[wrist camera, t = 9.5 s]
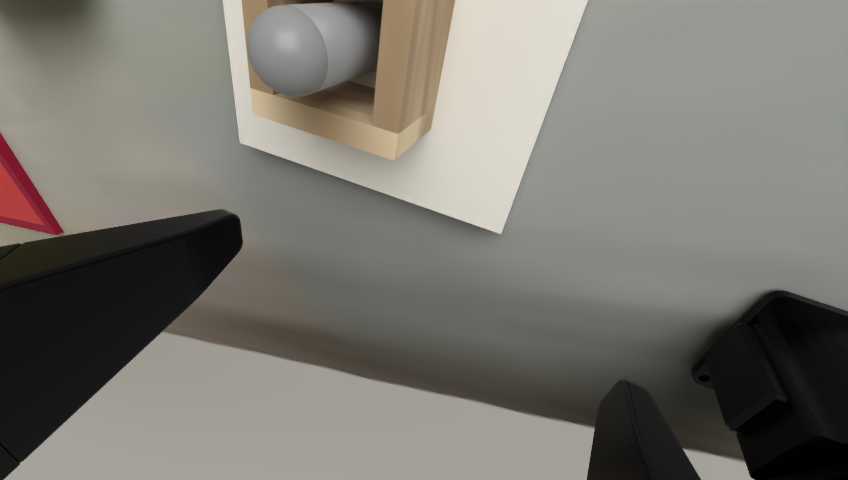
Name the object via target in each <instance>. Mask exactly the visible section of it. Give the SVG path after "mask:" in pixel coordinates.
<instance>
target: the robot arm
mask: <svg viewBox="0 0 848 480" xmlns="http://www.w3.org/2000/svg"><path fill="white" fill-rule="evenodd" d="M242 244H243V240H242V231H241V223H240V219H239V217H238V216H237V215H236V214H234V213H231V212H229V211H226V210H223V209H219V210H213V211H207V212H201V213H195V214H189V215H184V216H178V217H172V218H166V219H160V220H154V221H148V222H142V223H137V224H131V225H125V226H119V227H113V228H107V229H101V230H95V231H90V232H84V233H78V234H72V235H66V236H60V237H54V238H49V239H43V240H37V241H31V242H25V243H23V244H13V245H7V246H1V247H0V480H4V479H5V478H6V477H7V476H8V475H9V474H10V473H11V472H12V471H13V470H14V469H15V468H17V467H18V466H19V465H20V462H22V461H24V460H25V459H26V458H27V457H28V456H29V455H30V454H31V453H32V452H33V451H34V450H35V449H37V448H38V447H39V446H40V445H41V444H42V443H43V442H44V441H45V440H46V439H47V438H48V437H49V436H50V435H52V434H53V433H54V432H55V431H56V430H57V429H58V428H59V427H60V426H61V425H62V424H63V423H64V422H66V421H67V420H68V419H69V418H70V417H71V416H72V415H73V414H74V413H75V412H76V411H77V410H78V409H79V408H81V407H82V406H83V405H84V404H85V403H86V402H87V401H88V400H89V399H90V398H91V397H92V396H93V395H95V394H96V393H97V392H98V391H99V390H100V389H101V388H102V387H103V386H104V385H105V384H106V383H107V382H108V381H109V380H111V379H112V378H113V377H114V376H115V375H116V374H117V373H118V372H119V371H120V370H121V369H122V368H123V367H125V366H126V365H127V364H128V363H129V362H130V361H131V360H132V359H133V358H134V357H135V356H136V355H137V354H139V352H141V351H142V350H143V349H144V348H145V347H146V346H147V345H148V344H149V343H150V342H151V341H153V340H154V339H155V338H156V337H157V336H158V335H159V334H160V333H161V332H162V331H163V330H164V329H165V328H167V327H168V326H169V325H170V324H171V323H172V322H173V321H174V320H175V319H176V318H177V317H178V316H179V315H180V314H182V313H183V312H184V311H185V310H186V309H187V308H188V307H189V306H190V305H191V304H192V303H193V302H194V301H195V300H196V299H197V298H198V297H199V296H200V295H201V294H202V293H203V292H204V291H205V290H206V289H207V288H208V286H209V285H210V284H211V283H212V282H213V281H214V280H215V278H216V277H217V276H218V275H219V274H220V273H221V272H222V271H223V269H224V268H225V267H226V266H227V265H228V264H229V263H230V262H231V260H232V259H233V258H234V257H235V256H236V255H237V254H238V252H239V251H240V249H241V247H242ZM779 301H785V302H784V303H782V304H776V303H777V302H779ZM691 374H692V377H693V380H694V381H695V382H696V383H698V384H701V385H703V386H706V387H709V388H711V389H714V390H715V392H716V396H717V399H718V402H719V405H720V408H721V411H722V414H723V418H724V421H725V424H726V426H727V428H728V430H730V431H732V432H734V433H736V435H737V438H738V441H739V444H740V447H741V450H742V453H743V456H744V459H745V462H746V465H747V468H748V471H749V474H750V476H751V477H752V478H753V479H755V480H848V311H845V310H842V309H838V308H835V307H832V306H829V305H826V304H823V303H820V302H817V301H814V300H811V299H808V298H805V297H802V296H799V295H796V294H793V293H790V292H787V291H774V292H771V293H769V294H768V295H766V296H765V297H764V298H763V299H762V300H761V301H760V302H759V303H758V304H757V305H756V306H755V307H754V308H753V309H752V310H751V311H750V312H749V313H748V314H747V315H746V316H745V317H744V318H743V319H742V320H741V321H740V322H739V323H738V324H736V325H734V326H733V327H732V328H731V329H730V330H729V331H728V332H727V333H726V334H725V335H724V336H723V337H722V338H721V339H720V340H719V341H718V342H717V343H716V344H715V345H714V346H713V347H712V348H711V349H710V350H709V351H708V352H707V353H706V354H705V355H704V357H703V358H702V359H701V360H700V361H699V362H698V363H697V364H696V365H695V366H694V367H693V368H692V370H691ZM587 480H701V479H700V477H699V476H698V474H697V473H696V471H695V469H694V468H693V466H692V464H691V462H690V461H689V459H688V457H687V456H686V454H685V452H684V451H683V449H682V447H681V446H680V444H679V442H678V441H677V439H676V437H675V436H674V434H673V432H672V431H671V429H670V427H669V426H668V424H667V422H666V421H665V419H664V417H663V416H662V414H661V412H660V411H659V409H658V407H657V406H656V404H655V402H654V401H653V399H652V397H651V396H650V394H649V392H648V391H647V390H646V388H645V387H643V386H642V385H639V384H637V383H635V382H632V381H630V380H628V379H620V380H619V381H618V382H617V383H616V384H615V385H614V386H613V387H612V389H611V390H610V391H609V392H608V393H607V395H606V396H605V397H604V398H603V399H602V401H601V403H600V405H599V408H598V412H597V419H596V425H595V432H594V438H593V445H592V450H591V457H590V463H589V469H588V476H587Z"/></svg>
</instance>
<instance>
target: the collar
mask: <svg viewBox="0 0 848 480" xmlns="http://www.w3.org/2000/svg"><path fill="white" fill-rule="evenodd" d="M311 3H333V0H242V10H243V20H244V30H245V40H246V50H247V36H248V32H249V29H250V26H251V24H252V22H253V21H254V19H255V18H256V17H257V16H258V15H259V14H260V13H261V12H262V11H264V10H265V9H268V8H270V7H272V6H277V5H288V4H311ZM454 4H455V0H383V10H382V21H381V32H380V43H379V54H378V64H377V75H376V86H375V88H372V87H368V86H365V85H361V84H358V83H354V82H351V81H345V82H342V83H339V84H337V85H334V86H331V87H329V88H326V89H323V90H321V91H318V92H315V93H313V94H310V95H306V96H301V97H293V96H287V95H283V94H281V93H278V92H276V91H274V90H273V89H271V88H270V87H268V86H267V85H266V84H265V83H264V82H263V81H262V80H261V79H260V78H259V77H258V76H257V74H256V73H255V71H254V69H253V67H252V65H251V63H250V60H249V57H248V52H247V60H248V71H249V81H250V91H251V101H252V111H253V115H256V116H259V117H262V118H265V119H268V120H271V121H274V122H277V123H280V124H284V125H287V126H290V127H293V128H296V129H299V130H302V131H305V132H308V133H311V134H314V135H317V136H320V137H323V138H326V139H330V140H333V141H336V142H339V143H342V144H345V145H348V146H351V147H354V148H357V149H360V150H363V151H366V152H369V153H372V154H376V155H379V156H382V157H385V158H388V159H391V160H394V161H395V160H396V159H397V158H398V157H399V156H401V155H402V154H403V153H404V152H405V151H406V150H407V149H409V148H410V147H411V146H412V145H413V144H414V143H415V142H417V141H418V140H419V139H420V138H421V137H422V136H423V135H424V134H426V133H427V132H428V131H429V130H430V129H431V126H432V121H433V116H434V110H435V105H436V100H437V95H438V89H439V84H440V79H441V73H442V68H443V63H444V57H445V52H446V47H447V41H448V36H449V31H450V25H451V20H452V15H453V9H454Z"/></svg>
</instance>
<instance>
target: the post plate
mask: <svg viewBox="0 0 848 480" xmlns="http://www.w3.org/2000/svg"><path fill="white" fill-rule="evenodd" d="M587 2H588V0H455V4H454V9H453V15H452V20H451V25H450V31H449V36H448V41H447V47H446V52H445V57H444V63H443V68H442V73H441V79H440V84H439V89H438V95H437V100H436V105H435V110H434V116H433V121H432V126H431V129H430V130H429V131H428V132H427V133H426V134H424V135H423V136H422V137H421V138H420V139H419V140H418V141H417V142H415V143H414V144H413V145H412V146H411V147H410V148H409V149H407V150H406V151H405V152H404V153H403V154H402V155H401V156H399V157H398V158H397V159H396V160H395V161H394V160H391V159H388V158H385V157H382V156H379V155H376V154H372V153H369V152H366V151H363V150H360V149H357V148H354V147H351V146H348V145H345V144H342V143H339V142H336V141H333V140H330V139H326V138H323V137H320V136H317V135H314V134H311V133H308V132H305V131H302V130H299V129H296V128H293V127H290V126H287V125H284V124H280V123H277V122H274V121H271V120H268V119H265V118H262V117H259V116H256V115H253V111H252V101H251V91H250V81H249V71H248V60H247V52H248V57H249V60H250V63H251V65H252V67H253V69H254V71H255V73H256V74H257V76H258V77H259V78H260V79H261V80H262V81H263V82H264V83H265V84H266V85H267V86H268V87H270V88H271V89H273V90H274V91H276V92H278V93H281V94H283V95H287V96H293V97H301V96H306V95H310V94H313V93H315V92H318V91H321V90H323V89H326V88H329V87H331V86H334V85H337V84H339V83H342V82H345V81H351V82H354V83H358V84H361V85H365V86H368V87H372V88H375V86H376V75H377V64H378V54H379V43H380V32H381V21H382V10H383V0H333V3H311V4H288V5H277V6H272V7H270V8H268V9H265V10H264V11H262V12H261V13H260V14H259V15H258V16H257V17H256V18H255V19H254V21H253V22H252V24H251V26H250V29H249V32H248V36H247V50H246V40H245V30H244V20H243V10H242V0H223V6H224V15H225V23H226V31H227V40H228V48H229V56H230V64H231V73H232V81H233V89H234V98H235V106H236V114H237V122H238V131H239V139H240V143H242V144H245V145H247V146H250V147H253V148H256V149H259V150H262V151H265V152H267V153H270V154H273V155H276V156H279V157H282V158H285V159H287V160H290V161H293V162H296V163H299V164H302V165H305V166H307V167H310V168H313V169H316V170H319V171H322V172H325V173H327V174H330V175H333V176H336V177H339V178H342V179H345V180H347V181H350V182H353V183H356V184H359V185H362V186H364V187H367V188H370V189H373V190H376V191H379V192H382V193H384V194H387V195H390V196H393V197H396V198H399V199H402V200H404V201H407V202H410V203H413V204H416V205H419V206H422V207H424V208H427V209H430V210H433V211H436V212H439V213H442V214H444V215H447V216H450V217H453V218H456V219H459V220H462V221H464V222H467V223H470V224H473V225H476V226H479V227H482V228H484V229H487V230H490V231H493V232H496V233H499V234H501V233H502V230H503V228H504V225H505V222H506V220H507V217H508V214H509V211H510V209H511V206H512V203H513V201H514V198H515V195H516V193H517V190H518V187H519V185H520V182H521V179H522V176H523V174H524V171H525V168H526V166H527V163H528V160H529V158H530V155H531V152H532V150H533V147H534V144H535V141H536V139H537V136H538V133H539V131H540V128H541V125H542V123H543V120H544V117H545V115H546V112H547V109H548V107H549V104H550V101H551V98H552V96H553V93H554V90H555V88H556V85H557V82H558V80H559V77H560V74H561V72H562V69H563V66H564V63H565V61H566V58H567V55H568V53H569V50H570V47H571V45H572V42H573V39H574V37H575V34H576V31H577V29H578V26H579V23H580V20H581V18H582V15H583V12H584V10H585V7H586V4H587Z"/></svg>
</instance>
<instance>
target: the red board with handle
mask: <svg viewBox="0 0 848 480" xmlns="http://www.w3.org/2000/svg"><path fill="white" fill-rule="evenodd" d="M0 222H1V223H5V224H10V225H14V226H19V227H23V228H27V229H32V230H36V231H41V232H45V233H50V234H54V235H58V234H60V233H62V232H63V230H62V229H61V227H60V225H59V224H58V222H57V221H56V219H55V218H54V216H53V214H52V213H51V211H50V210H49V208H48V207H47V205H46V204H45V202H44V200H43V199H42V197H41V196H40V194H39V193H38V191H37V189H36V188H35V186H34V185H33V183H32V182H31V180H30V178H29V177H28V175H27V174H26V172H25V171H24V169H23V168H22V166H21V164H20V163H19V161H18V160H17V158H16V157H15V155H14V153H13V152H12V150H11V149H10V147H9V146H8V144H7V143H6V141H5V139H4V138H3V136H2V135H1V133H0Z"/></svg>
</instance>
